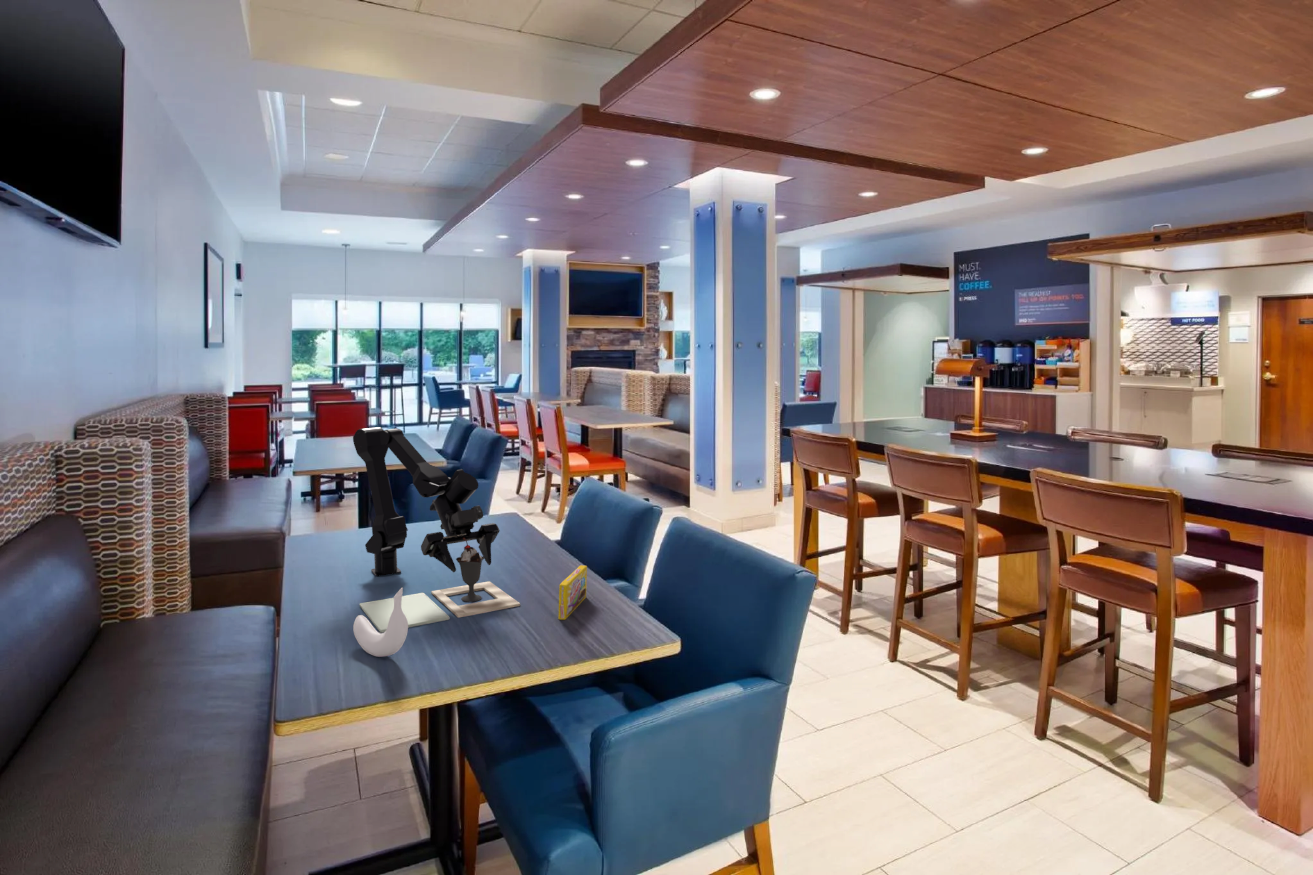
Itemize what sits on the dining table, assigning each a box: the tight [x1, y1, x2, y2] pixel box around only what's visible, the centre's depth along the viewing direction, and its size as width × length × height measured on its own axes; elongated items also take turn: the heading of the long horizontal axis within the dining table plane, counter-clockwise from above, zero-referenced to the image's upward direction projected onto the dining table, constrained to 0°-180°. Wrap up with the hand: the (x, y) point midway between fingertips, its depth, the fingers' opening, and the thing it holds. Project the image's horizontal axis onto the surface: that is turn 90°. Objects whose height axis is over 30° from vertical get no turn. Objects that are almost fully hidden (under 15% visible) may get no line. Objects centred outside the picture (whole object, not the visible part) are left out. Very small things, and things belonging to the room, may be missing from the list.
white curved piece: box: [352, 587, 409, 658], centre depth 152 cm, size 5×19×15 cm, turn 52°
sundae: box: [455, 538, 485, 603], centre depth 185 cm, size 7×7×15 cm
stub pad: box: [359, 592, 450, 634], centre depth 176 cm, size 20×15×1 cm
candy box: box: [557, 564, 588, 621], centre depth 179 cm, size 16×2×8 cm, turn 168°
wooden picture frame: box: [430, 580, 521, 619], centre depth 185 cm, size 20×15×1 cm
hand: (472, 567), depth 184 cm, fingers open, 9 cm apart
